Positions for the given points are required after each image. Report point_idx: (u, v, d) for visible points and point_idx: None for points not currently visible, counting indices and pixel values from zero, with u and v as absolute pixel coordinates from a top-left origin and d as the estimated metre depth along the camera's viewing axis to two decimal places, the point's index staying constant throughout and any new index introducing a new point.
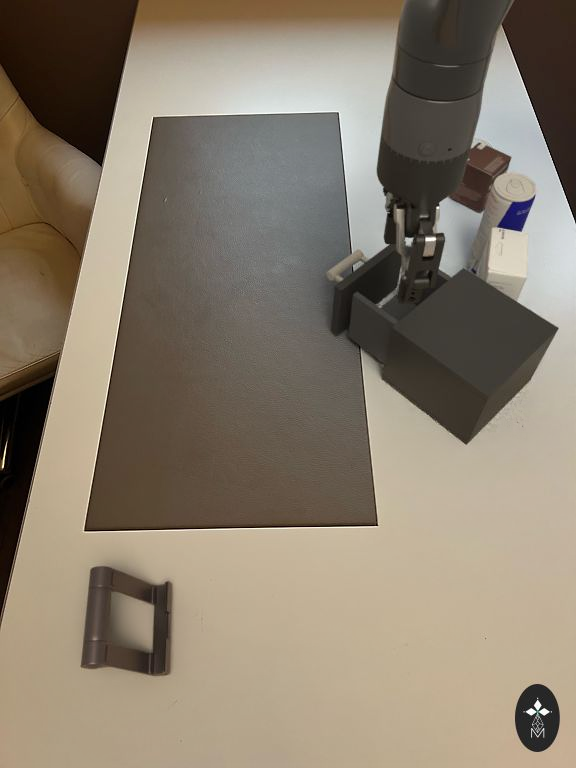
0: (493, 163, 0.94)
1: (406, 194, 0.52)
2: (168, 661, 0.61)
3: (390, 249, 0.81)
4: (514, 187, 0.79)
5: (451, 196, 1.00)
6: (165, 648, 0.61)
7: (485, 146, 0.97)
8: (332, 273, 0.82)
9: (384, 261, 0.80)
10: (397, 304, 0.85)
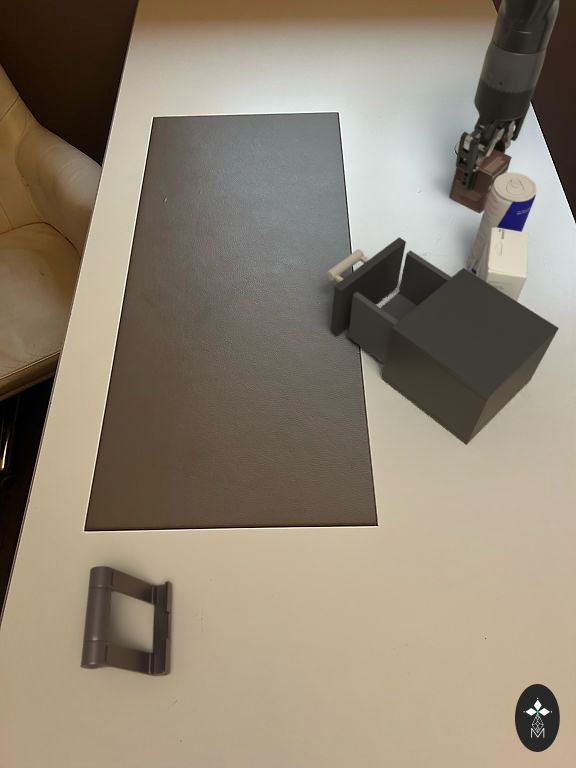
0: (493, 163, 0.94)
1: (477, 105, 0.87)
2: (168, 661, 0.61)
3: (390, 249, 0.81)
4: (514, 187, 0.79)
5: (451, 196, 1.00)
6: (165, 648, 0.61)
7: None
8: (332, 273, 0.82)
9: (384, 261, 0.80)
10: (397, 304, 0.85)
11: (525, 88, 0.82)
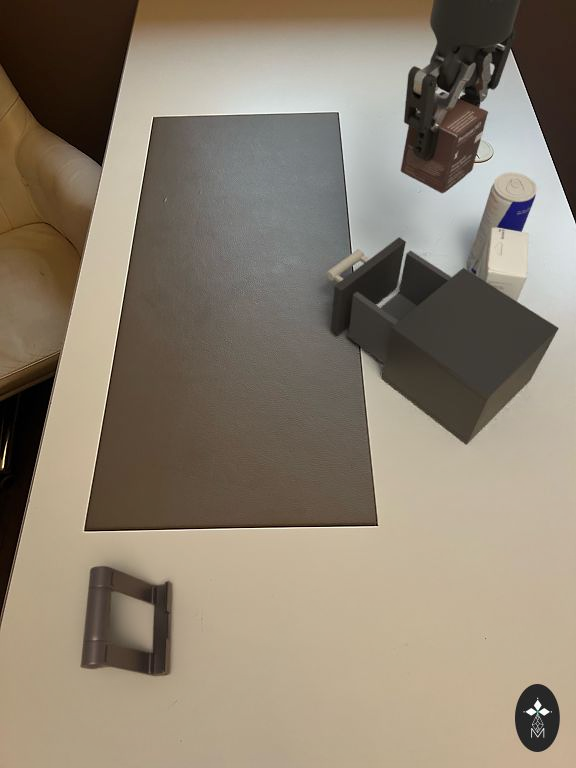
0: (461, 120, 0.64)
1: (433, 24, 0.57)
2: (168, 661, 0.61)
3: (390, 249, 0.81)
4: (514, 187, 0.79)
5: (403, 170, 0.70)
6: (165, 648, 0.61)
7: None
8: (332, 273, 0.82)
9: (384, 261, 0.80)
10: (397, 304, 0.85)
11: None
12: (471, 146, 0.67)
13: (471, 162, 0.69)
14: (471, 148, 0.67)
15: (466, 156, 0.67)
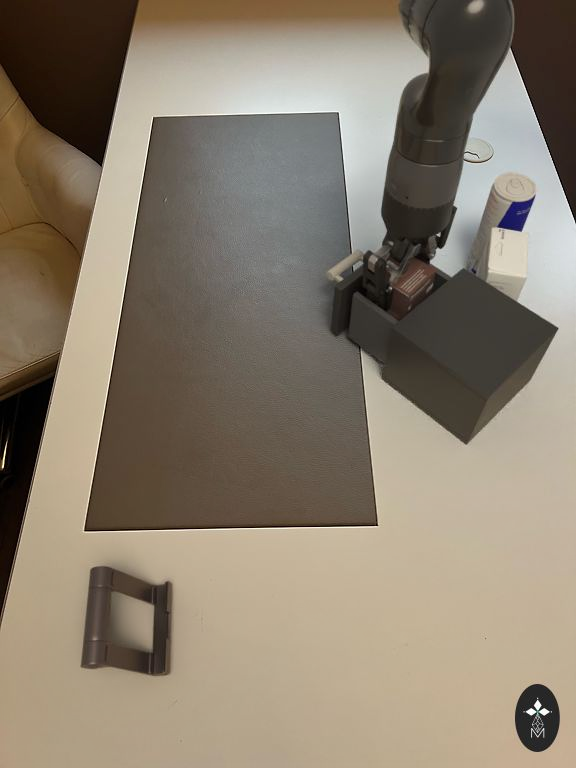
0: (413, 279, 0.75)
1: (383, 217, 0.67)
2: (168, 661, 0.61)
3: None
4: (514, 187, 0.79)
5: None
6: (165, 648, 0.61)
7: None
8: (332, 273, 0.82)
9: None
10: None
11: (439, 203, 0.63)
12: (423, 295, 0.77)
13: None
14: (423, 297, 0.78)
15: (419, 303, 0.78)
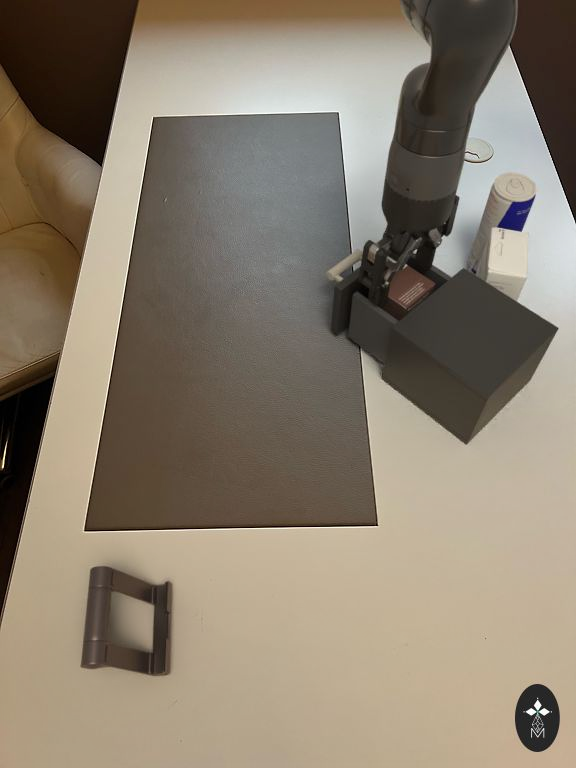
0: (411, 292, 0.77)
1: (384, 210, 0.67)
2: (168, 661, 0.61)
3: None
4: (514, 187, 0.79)
5: None
6: (165, 648, 0.61)
7: (406, 267, 0.79)
8: (332, 273, 0.82)
9: None
10: None
11: (440, 196, 0.62)
12: None
13: None
14: None
15: None
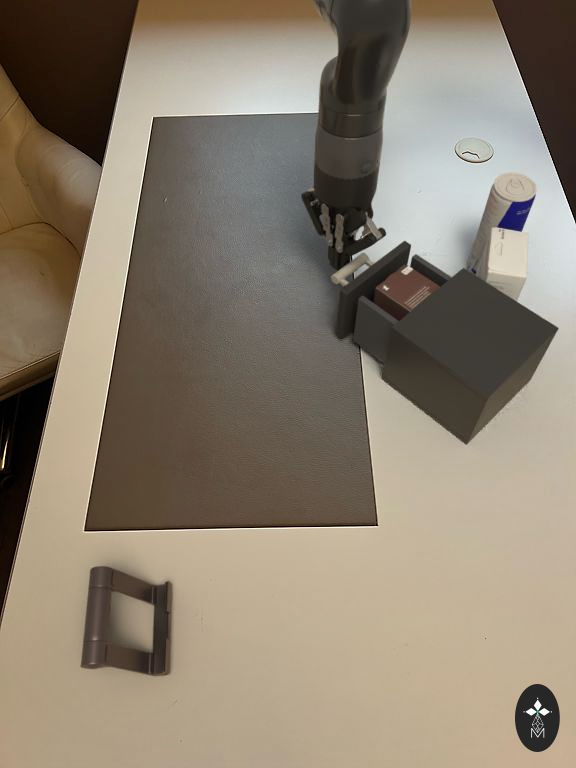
0: (417, 296, 0.77)
1: (355, 203, 0.72)
2: (168, 661, 0.61)
3: (396, 252, 0.80)
4: (514, 187, 0.79)
5: None
6: (165, 648, 0.61)
7: (411, 270, 0.79)
8: (337, 277, 0.82)
9: (390, 264, 0.80)
10: None
11: None
12: None
13: None
14: None
15: None
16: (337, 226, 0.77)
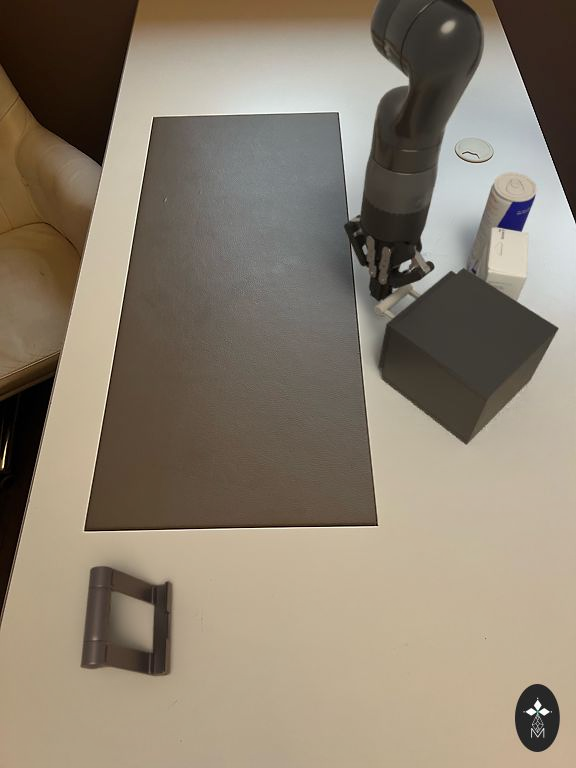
0: None
1: (405, 237, 0.69)
2: (168, 661, 0.61)
3: (443, 283, 0.77)
4: (514, 187, 0.79)
5: None
6: (165, 648, 0.61)
7: None
8: (381, 308, 0.79)
9: None
10: None
11: None
12: None
13: None
14: None
15: None
16: (383, 259, 0.74)
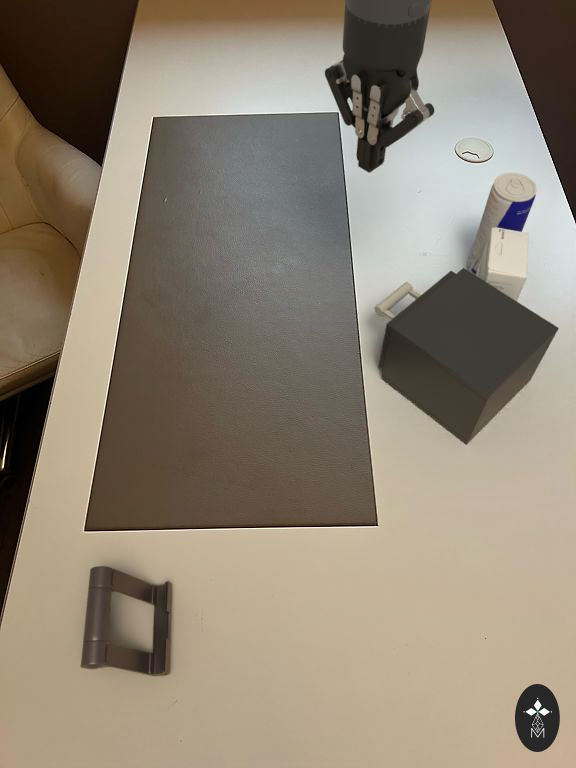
0: None
1: (397, 63, 0.56)
2: (168, 661, 0.61)
3: (443, 283, 0.77)
4: (514, 187, 0.79)
5: None
6: (165, 648, 0.61)
7: None
8: (381, 308, 0.79)
9: None
10: None
11: None
12: None
13: None
14: None
15: None
16: (371, 105, 0.61)
